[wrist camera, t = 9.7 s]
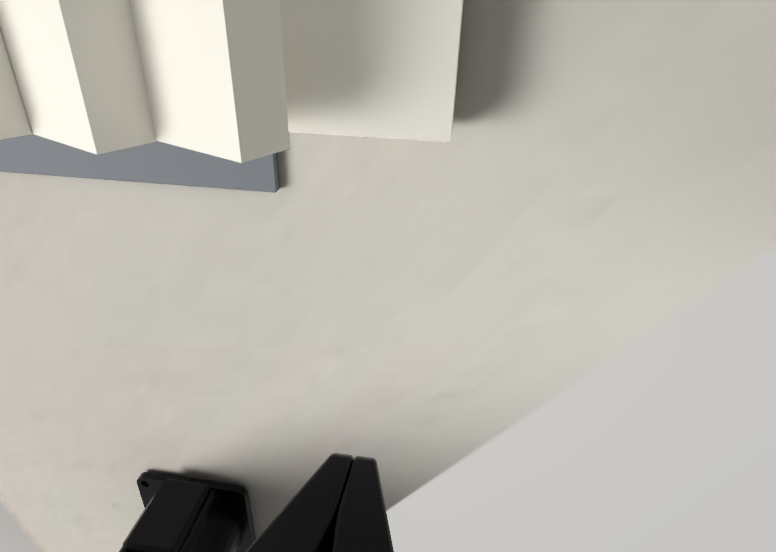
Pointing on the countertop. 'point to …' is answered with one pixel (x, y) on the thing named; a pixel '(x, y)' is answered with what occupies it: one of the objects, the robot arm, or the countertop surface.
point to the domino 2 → (78, 72)
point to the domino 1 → (10, 101)
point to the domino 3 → (214, 75)
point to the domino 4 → (371, 67)
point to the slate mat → (138, 164)
